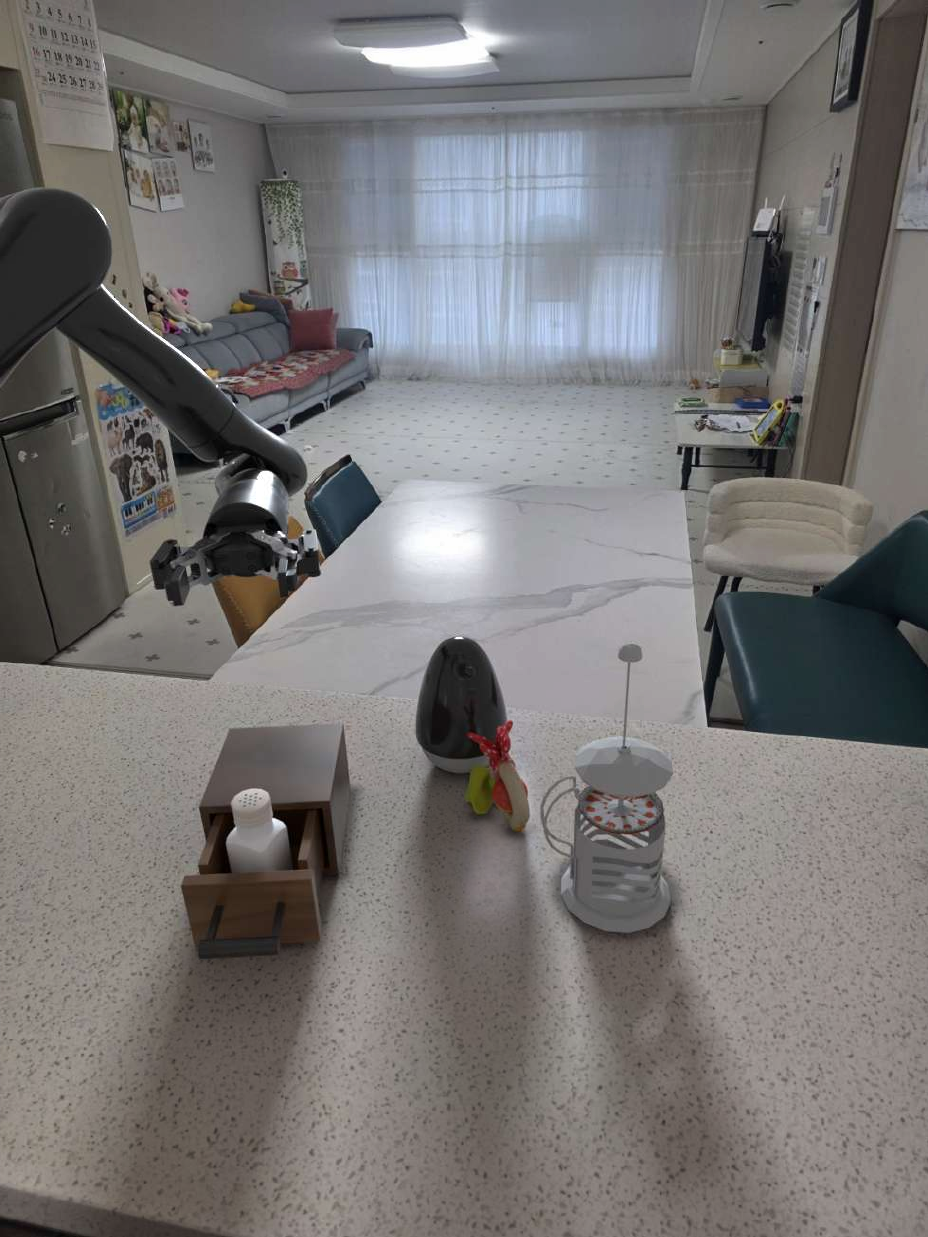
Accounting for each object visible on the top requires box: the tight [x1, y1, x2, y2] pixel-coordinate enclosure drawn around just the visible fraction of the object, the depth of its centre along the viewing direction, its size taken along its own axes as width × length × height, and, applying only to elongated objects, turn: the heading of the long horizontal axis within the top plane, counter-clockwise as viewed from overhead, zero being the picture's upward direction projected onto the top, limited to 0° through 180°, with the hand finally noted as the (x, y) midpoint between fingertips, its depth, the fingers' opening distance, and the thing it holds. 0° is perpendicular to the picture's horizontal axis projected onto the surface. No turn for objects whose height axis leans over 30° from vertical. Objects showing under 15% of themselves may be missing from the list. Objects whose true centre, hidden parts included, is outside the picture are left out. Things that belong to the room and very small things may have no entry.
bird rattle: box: [464, 719, 531, 832], centre depth 81 cm, size 6×11×9 cm
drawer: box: [180, 808, 327, 961], centre depth 70 cm, size 16×10×7 cm, turn 2°
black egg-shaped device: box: [415, 635, 509, 774], centre depth 89 cm, size 10×10×15 cm
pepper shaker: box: [226, 789, 293, 873], centre depth 71 cm, size 4×4×10 cm
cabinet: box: [198, 722, 352, 876], centre depth 80 cm, size 13×12×9 cm
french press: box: [539, 641, 674, 934], centre depth 68 cm, size 10×12×25 cm
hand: (230, 591), depth 67 cm, fingers open, 8 cm apart
